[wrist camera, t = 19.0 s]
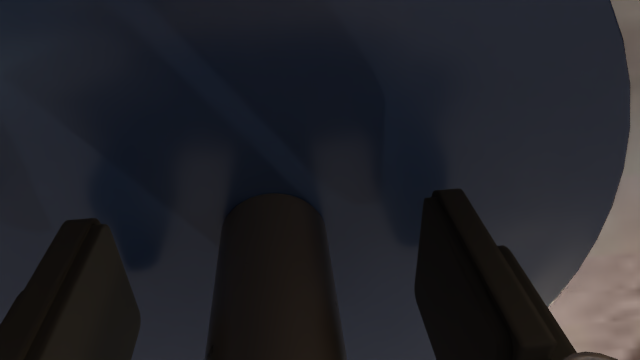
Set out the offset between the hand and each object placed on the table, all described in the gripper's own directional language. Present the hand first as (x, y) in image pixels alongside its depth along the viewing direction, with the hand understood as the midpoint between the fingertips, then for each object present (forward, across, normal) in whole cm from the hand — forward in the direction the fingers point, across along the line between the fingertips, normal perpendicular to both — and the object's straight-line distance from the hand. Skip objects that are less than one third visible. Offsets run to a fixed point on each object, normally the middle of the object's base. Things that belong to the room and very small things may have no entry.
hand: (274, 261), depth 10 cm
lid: (+1, 0, 0) cm, 1 cm away
